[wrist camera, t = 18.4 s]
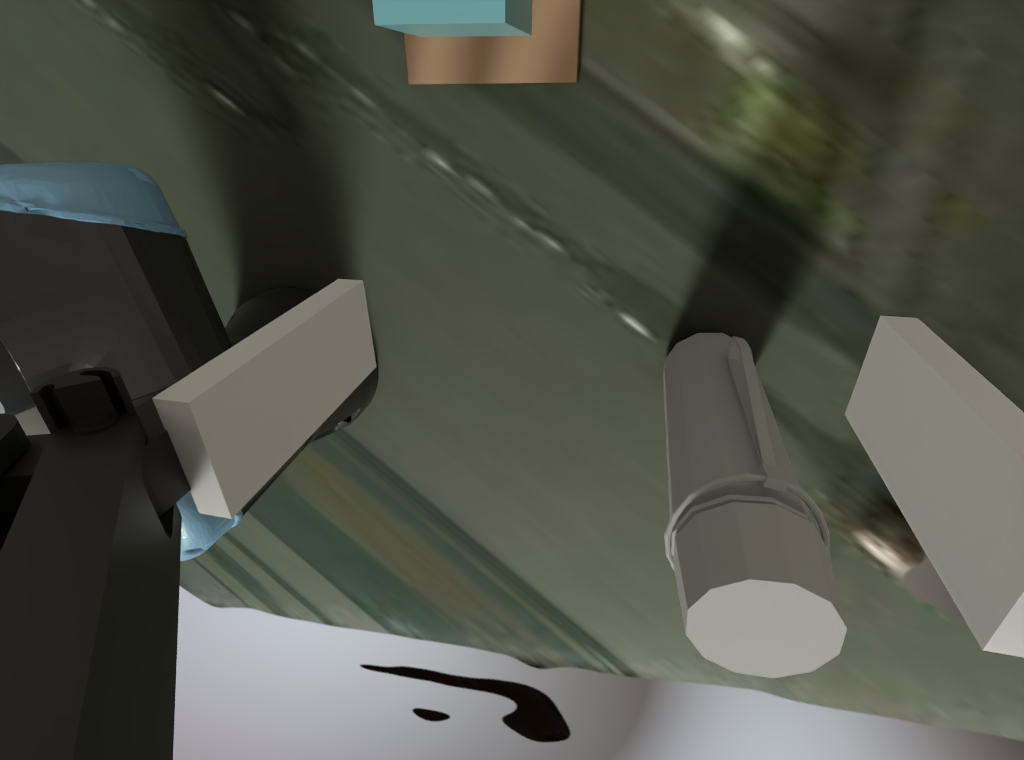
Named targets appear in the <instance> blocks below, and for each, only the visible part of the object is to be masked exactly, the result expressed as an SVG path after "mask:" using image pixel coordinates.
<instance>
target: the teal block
mask: <svg viewBox="0 0 1024 760" xmlns="http://www.w3.org/2000/svg"><path fill="white" fill-rule="evenodd" d="M532 5H533V0H373V11H374V22H375V25H377V26H381V27H385V28H389V29H392V30H396V31H400V32H404V33H408V34H412V35H416V36H419V37H454V36H532Z"/></svg>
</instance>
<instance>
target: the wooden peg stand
mask: <svg viewBox="0 0 1024 760" xmlns="http://www.w3.org/2000/svg"><path fill="white" fill-rule="evenodd" d="M581 6H582V0H533V5H532V36H454V37H419V36H416V35H412V34H408V33H404V37H405V47H406V58H407V69H408V79H409V84H477V83H562V82H578V73H579V51H580V29H581Z"/></svg>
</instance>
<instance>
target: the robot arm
mask: <svg viewBox="0 0 1024 760" xmlns="http://www.w3.org/2000/svg"><path fill="white" fill-rule="evenodd" d="M187 237H188V236H187V233H186V232H185V230H183V229H182V228H180V226H179V224H178V222H177V220H176V218H175V216H174V214H173V212H172V210H171V208H170V206H169V204H168V202H167V200H166V198H165V196H164V194H163V192H162V190H161V188H160V187H159V185H158V184H157V183H156V181H155V180H154V179H153V178H152V177H151V176H149V175H148V174H147V173H145V172H144V171H142V170H140V169H138V168H136V167H133V166H130V165H126V164H120V163H98V162H65V163H27V164H5V165H0V760H173V738H174V711H175V684H176V659H177V658H176V657H177V656H176V655H177V632H178V606H179V580H180V561H185V560H188V559H191V558H194V557H196V556H198V555H200V554H202V553H203V552H205V551H206V550H207V549H208V548H209V547H210V546H212V545H213V544H214V543H215V542H216V541H217V540H218V539H219V538H220V537H221V536H222V535H223V534H224V533H226V532H227V531H228V530H229V529H230V528H232V527H234V526H235V525H237V524H238V523H239V522H240V520H241V519H242V516H243V515H244V514H245V513H246V512H247V511H248V510H249V509H250V508H251V507H252V505H253V504H254V503H255V502H256V501H257V500H258V499H259V498H260V497H261V495H262V494H263V493H264V492H265V491H266V490H267V489H268V488H269V487H270V486H271V484H272V483H273V482H274V481H275V480H276V479H277V478H278V477H279V476H280V475H281V473H282V472H283V471H284V470H285V469H286V468H287V467H288V466H289V465H290V463H291V462H292V461H293V460H294V459H295V458H296V457H297V456H298V455H299V454H300V452H301V451H302V450H303V449H304V448H305V447H306V446H307V445H308V444H310V443H312V442H314V441H316V440H318V439H321V438H323V437H325V436H327V435H329V434H331V433H333V432H335V431H338V430H340V429H342V428H344V427H346V426H348V425H349V424H350V423H352V422H353V421H354V420H355V419H357V418H358V416H359V415H360V414H361V413H362V412H363V411H364V410H365V408H366V407H367V406H368V405H369V403H370V402H371V400H372V398H373V396H374V394H375V391H376V387H377V378H378V374H377V365H376V360H375V353H374V347H373V341H372V334H371V328H370V322H369V315H368V309H367V302H366V296H365V290H364V283H363V280H348V279H337V280H336V281H334V282H333V283H331V284H330V285H328V286H326V287H325V288H323V289H322V290H320V291H319V292H317V293H313V292H310V291H307V290H304V289H299V288H291V287H282V288H275V289H270V290H267V291H265V292H263V293H261V294H259V295H257V296H255V297H254V298H252V299H250V300H248V301H247V302H245V303H244V304H243V305H241V306H240V307H239V308H238V309H237V310H236V311H235V312H234V314H233V315H232V317H231V319H230V320H229V322H228V324H227V326H226V327H225V328H224V325H223V323H222V321H221V319H220V316H219V314H218V312H217V310H216V307H215V305H214V303H213V301H212V298H211V296H210V294H209V292H208V289H207V287H206V285H205V282H204V280H203V277H202V275H201V273H200V270H199V268H198V266H197V263H196V261H195V259H194V256H193V254H192V252H191V249H190V247H189V244H188V242H187V240H186V238H187ZM33 407H36V408H37V410H38V411H39V413H40V414H41V416H42V418H43V420H44V422H45V423H46V425H47V427H48V429H49V431H50V433H51V434H42V435H30V436H26V434H25V432H24V431H23V429H22V427H21V425H20V424H19V422H18V420H17V418H16V417H15V416H14V415H17V414H19V413H21V412H24V411H26V410H29V409H31V408H33ZM845 416H846V418H847V419H848V421H849V423H850V424H851V426H852V428H853V430H854V431H855V433H856V435H857V436H858V438H859V440H860V442H861V443H862V445H863V447H864V448H865V450H866V452H867V454H868V455H869V457H870V459H871V460H872V462H873V464H874V465H875V467H876V469H877V471H878V472H879V474H880V476H881V477H882V479H883V481H884V483H885V484H886V486H887V488H888V489H889V491H890V493H891V495H892V496H893V498H894V500H895V501H896V503H897V505H898V507H899V508H900V510H901V512H902V513H903V515H904V517H905V518H906V520H907V522H908V524H909V525H910V527H911V529H912V530H913V532H914V534H915V536H916V537H917V539H918V541H919V542H920V544H921V546H922V548H923V549H924V551H925V553H926V554H927V556H928V558H929V559H930V561H931V563H932V565H933V566H934V568H935V570H936V571H937V573H938V575H939V577H940V578H941V580H942V582H943V583H944V585H945V587H946V589H947V590H948V592H949V593H950V595H951V597H952V599H953V601H954V602H955V604H956V606H957V607H958V609H959V611H960V612H961V614H962V616H963V618H964V619H965V621H966V623H967V624H968V626H969V628H970V630H971V631H972V633H973V635H974V636H975V638H976V640H977V642H978V643H979V645H980V647H981V648H982V650H985V651H990V652H996V653H1002V654H1008V655H1013V656H1019V657H1024V412H1023V411H1021V410H1020V409H1019V408H1018V407H1017V406H1016V405H1015V404H1014V403H1012V402H1011V401H1010V400H1009V399H1008V398H1007V397H1006V396H1005V395H1003V394H1002V393H1001V392H1000V391H999V390H998V389H997V388H996V387H994V386H993V385H992V384H991V383H990V382H989V381H988V380H987V379H985V378H984V377H983V376H982V375H981V374H980V373H979V372H978V371H976V370H975V369H974V368H973V367H972V366H971V365H970V364H969V363H967V362H966V361H965V360H964V359H963V358H962V357H961V356H959V355H958V354H957V353H956V352H955V351H954V350H953V349H952V348H950V347H949V346H948V345H947V344H946V343H945V342H944V341H943V340H941V339H940V338H939V337H938V336H937V335H936V334H935V333H934V332H932V331H931V330H930V329H929V328H928V327H927V326H926V325H925V324H923V323H922V322H921V321H920V320H919V319H918V318H907V317H892V316H880V318H879V321H878V324H877V327H876V330H875V332H874V335H873V338H872V341H871V343H870V346H869V349H868V352H867V354H866V357H865V360H864V363H863V366H862V368H861V371H860V374H859V377H858V379H857V382H856V385H855V388H854V390H853V393H852V396H851V399H850V402H849V404H848V407H847V410H846V413H845Z"/></svg>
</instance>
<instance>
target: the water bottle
mask: <svg viewBox="0 0 1024 760" xmlns="http://www.w3.org/2000/svg"><path fill="white" fill-rule="evenodd" d="M663 383H664V404H665V424H666V445H667V466H668V486H669V507H670V521H669V523H668V526H667V528H666V531H665V533H664V538H665V548H666V556H667V558H668V560H669V562H670V564H671V566H672V568H673V569H674V571H675V576H676V582H677V588H678V593H679V599H680V605H681V610H682V616H683V621H684V627H685V633H686V635H687V636H688V638H689V639H690V640H691V642H692V643H693V644H694V646H695V647H696V648H697V650H698V651H699V652H700V654H701V655H702V656H703V657H704V658H706V659H708V660H710V661H712V662H714V663H716V664H718V665H720V666H722V667H724V668H727V669H729V670H731V671H733V672H735V673H741V674H748V675H755V676H762V677H769V678H778V677H784V676H790V675H796V674H802V673H808V672H812V671H814V670H815V669H817V668H819V667H820V666H822V665H823V664H825V663H826V662H828V661H829V660H831V659H832V658H834V657H836V656H837V655H839V654H840V650H841V647H842V644H843V641H844V637H845V634H846V631H847V625H846V621H845V617H844V613H843V608H842V604H841V600H840V596H839V592H838V587H837V583H836V579H835V575H834V571H833V566H832V562H831V558H830V554H829V547H830V532H829V530H828V527H827V525H826V522H825V520H824V517H823V515H822V512H821V510H820V509H819V508H818V507H817V505H816V504H815V503H814V502H813V500H812V499H811V498H810V497H809V495H808V494H807V493H806V492H805V491H804V490H803V489H801V488H800V486H799V483H798V481H797V478H796V475H795V472H794V470H793V467H792V464H791V462H790V459H789V456H788V454H787V451H786V448H785V446H784V443H783V440H782V437H781V435H780V432H779V429H778V427H777V424H776V421H775V419H774V416H773V413H772V410H771V408H770V405H769V402H768V400H767V397H766V394H765V392H764V389H763V386H762V384H761V381H760V378H759V375H758V373H757V370H756V367H755V365H754V362H753V357H752V352H751V349H750V347H749V345H748V343H747V341H745V340H744V339H743V338H739V337H735V336H732V337H730V336H728V335H726V334H724V333H697V334H695V335H693V336H691V337H689V338H687V339H685V340H683V341H680V342H678V343H677V344H676V345H675V346H674V348H673V349H672V350H671V352H670V353H669V355H668V356H667V357H666V359H665V360H664V377H663ZM806 504H807V505H806ZM807 506H808V507H809V509H810V510H811V511H812V513H813V514H814V516H815V518H816V520H817V522H818V524H819V527H820V531H821V534H822V538H821V536H820V535H819V533H818V531H817V530H816V528H815V526H814V524H813V521H812V518H811V516H810V513H809V510H808V508H807Z"/></svg>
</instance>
